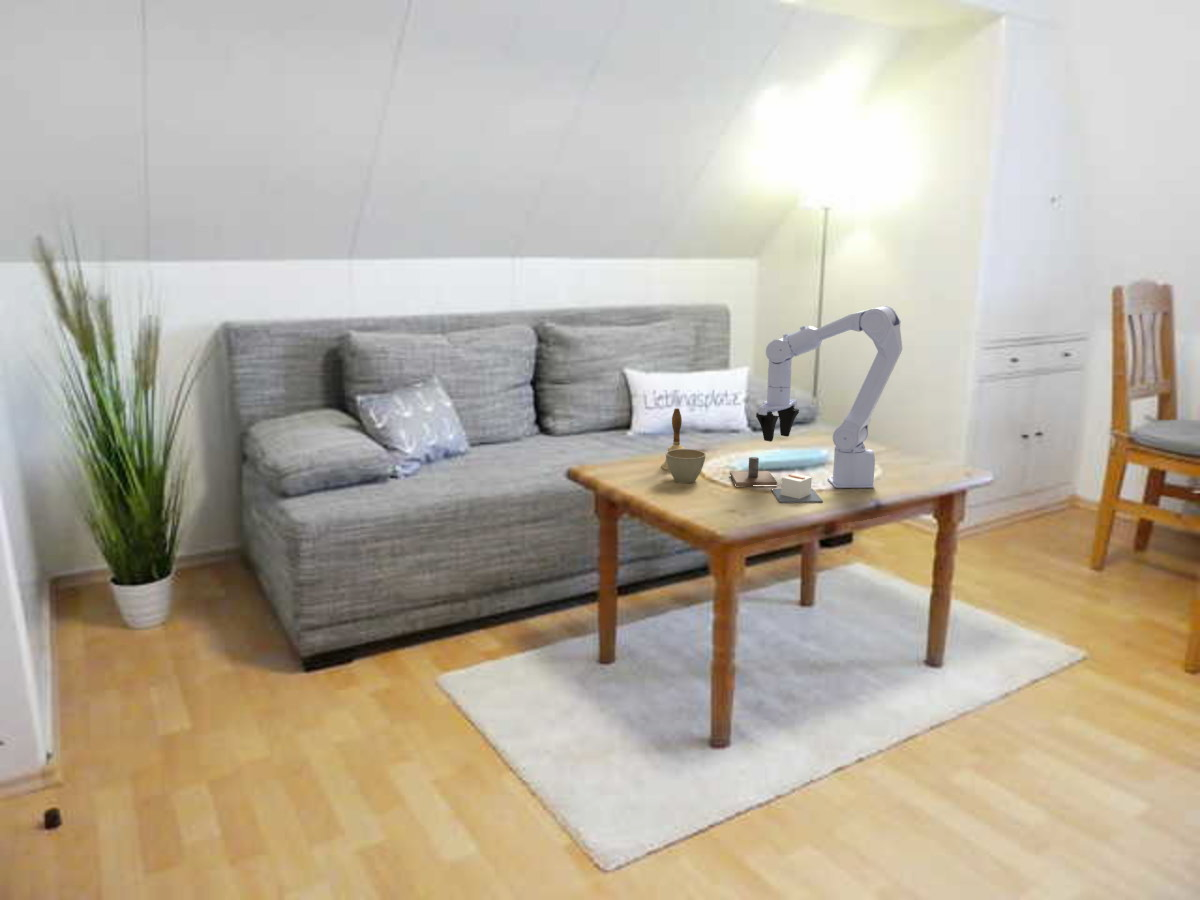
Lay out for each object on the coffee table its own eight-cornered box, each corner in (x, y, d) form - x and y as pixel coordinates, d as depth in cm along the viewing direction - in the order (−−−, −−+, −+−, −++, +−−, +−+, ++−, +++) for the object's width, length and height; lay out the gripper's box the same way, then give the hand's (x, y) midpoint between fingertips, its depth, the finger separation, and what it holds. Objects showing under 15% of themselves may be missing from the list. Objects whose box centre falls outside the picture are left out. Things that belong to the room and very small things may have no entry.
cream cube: (810, 494, 203) (811, 476, 202) (799, 498, 200) (800, 480, 199) (792, 490, 207) (793, 472, 206) (780, 494, 203) (781, 476, 202)
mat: (812, 490, 208) (812, 488, 208) (822, 502, 198) (822, 500, 198) (771, 490, 208) (771, 488, 208) (779, 502, 198) (779, 501, 198)
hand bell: (654, 468, 229) (655, 409, 225) (672, 461, 235) (673, 404, 231) (680, 473, 224) (681, 413, 220) (698, 466, 230) (699, 408, 226)
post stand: (768, 475, 221) (769, 453, 219) (776, 486, 211) (777, 463, 210) (730, 475, 221) (730, 453, 219) (736, 487, 211) (737, 463, 210)
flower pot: (703, 487, 211) (703, 459, 209) (662, 485, 213) (663, 457, 211) (706, 476, 221) (707, 449, 219) (667, 474, 223) (668, 447, 221)
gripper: (781, 380, 225) (779, 431, 228) (749, 387, 215) (747, 440, 218) (804, 384, 220) (802, 435, 223) (773, 391, 210) (770, 445, 213)
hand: (776, 438), depth 220 cm, fingers open, 7 cm apart
